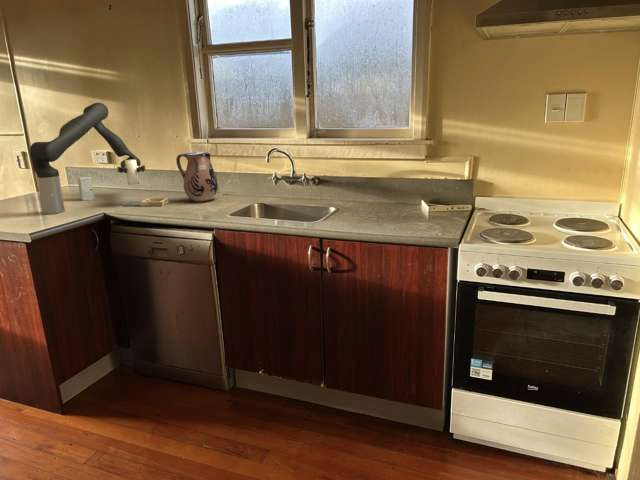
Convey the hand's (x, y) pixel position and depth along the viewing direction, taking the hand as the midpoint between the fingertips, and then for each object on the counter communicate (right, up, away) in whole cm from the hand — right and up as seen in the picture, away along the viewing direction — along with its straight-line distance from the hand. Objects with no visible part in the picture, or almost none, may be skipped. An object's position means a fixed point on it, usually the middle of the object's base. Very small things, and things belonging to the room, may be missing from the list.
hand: (131, 170), depth 237 cm
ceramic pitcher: (+29, -14, +16) cm, 36 cm away
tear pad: (-1, -16, +7) cm, 18 cm away
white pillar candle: (-1, -6, +4) cm, 7 cm away
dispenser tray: (+9, -16, +7) cm, 20 cm away
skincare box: (-33, -13, +23) cm, 43 cm away
